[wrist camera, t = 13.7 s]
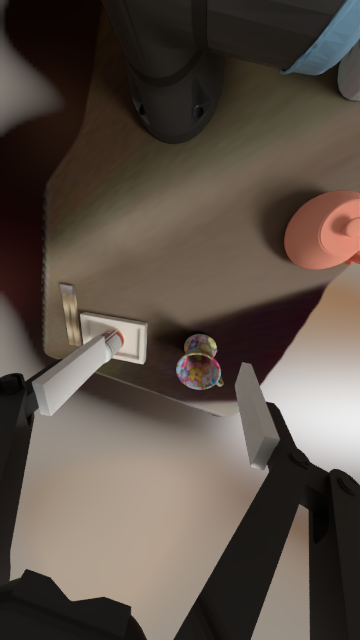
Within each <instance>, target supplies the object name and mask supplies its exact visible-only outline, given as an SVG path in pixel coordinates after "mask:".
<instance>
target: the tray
mask: <svg viewBox="0 0 360 640" xmlns="http://www.w3.org/2000/svg"><path fill="white" fill-rule="evenodd" d="M80 318H81V327H82V336H83V345H84V344H85V343H87V342H88V341H90V340H91V339H92V338H94V337H95V336H97V335H101V334H102V333H104V332H105V331H106V330H108V329H112V328H114V329H117V330H119V331H120V332H122V334H123V335H124V338H125V343H124V345H123V346H122V347H121V348H120V349H119V350H118V351H117V353H116V354H115V355H114V356H113V357H112V358H115V359H119V360H124V361H129V362H134V363H139V364H144V362H145V361H146V344H147V323H146V322H140V321H134V320H129V319H123V318H117V317H111V316H106V315H100V314H94V313H89V312H84V313H82V314H80Z"/></svg>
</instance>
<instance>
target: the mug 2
mask: <svg viewBox="0 0 360 640" xmlns="http://www.w3.org/2000/svg"><path fill="white" fill-rule="evenodd" d="M337 81H338V87H339V90H340V92H341V93H342V95H343V96H344V97H345V98H347V99H349V100H354V101H359V100H360V39H359V40H358V41H357V43H356V44H355V45H354V46H353V47H352V48H351V50H350V51H349V52H348V53H347V54H346V55H345V56H344V57H343V58H342V60H341V62H340V65H339V69H338V78H337Z"/></svg>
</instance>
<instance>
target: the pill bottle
mask: <svg viewBox="0 0 360 640" xmlns="http://www.w3.org/2000/svg"><path fill="white" fill-rule="evenodd" d="M100 336H105V352H106V360H105V361H104V362H103V363H102V364H104V363H106V362H108V361H109V360H110V359H111V358H112V357H113V356H114V355H115V354H116V353H117V351H118V350H119V349H120V348H121V347H122V346H123V345H124V343H125V338H124V335H123V334H122V332H120V331H119V330H117V329H114V328H112V329H108V330H106V331H105V332H104V333H102V334H101V335H100Z"/></svg>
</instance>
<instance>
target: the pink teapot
mask: <svg viewBox="0 0 360 640" xmlns="http://www.w3.org/2000/svg"><path fill="white" fill-rule="evenodd" d="M284 246H285V250H286V253H287V255H288V257H289V258H290V260H291V261H292V262H293V263H295V264H296V265H298V266H299V267H302V268H305V269H324V268H329V267H332V266H335V265H338V264H340V263H342V262H344V263H345V264H348V265H351V264H354V263H359V264H360V193H358V192H354V191H349V190H339V191H332V192H327V193H324V194H321V195H319V196H317V197H315V198H313V199H311V200H310V201H308V202H307V203H305V204H304V205H303V206H302V207H301V208H300V209H299V210H298V211H297V212H296V213H295V214H294V216H293V217H292V219H291V220H290V222H289V224H288V226H287V229H286V232H285V237H284Z"/></svg>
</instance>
